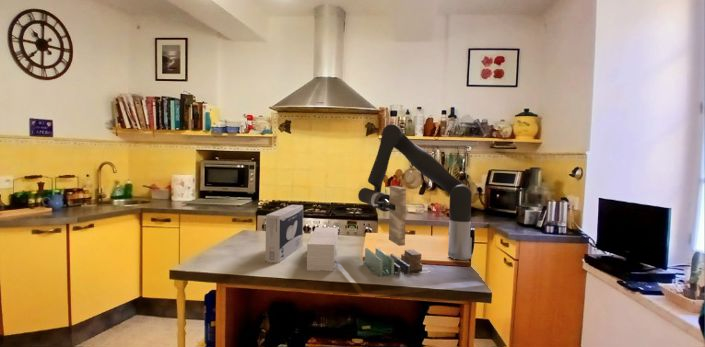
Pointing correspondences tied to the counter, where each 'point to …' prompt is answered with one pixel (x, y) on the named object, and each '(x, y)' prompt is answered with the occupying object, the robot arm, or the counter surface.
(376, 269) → the rack
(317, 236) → the stack of papers
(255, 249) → the counter surface
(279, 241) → the packaging
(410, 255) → the offcut stack
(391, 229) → the birch panel
